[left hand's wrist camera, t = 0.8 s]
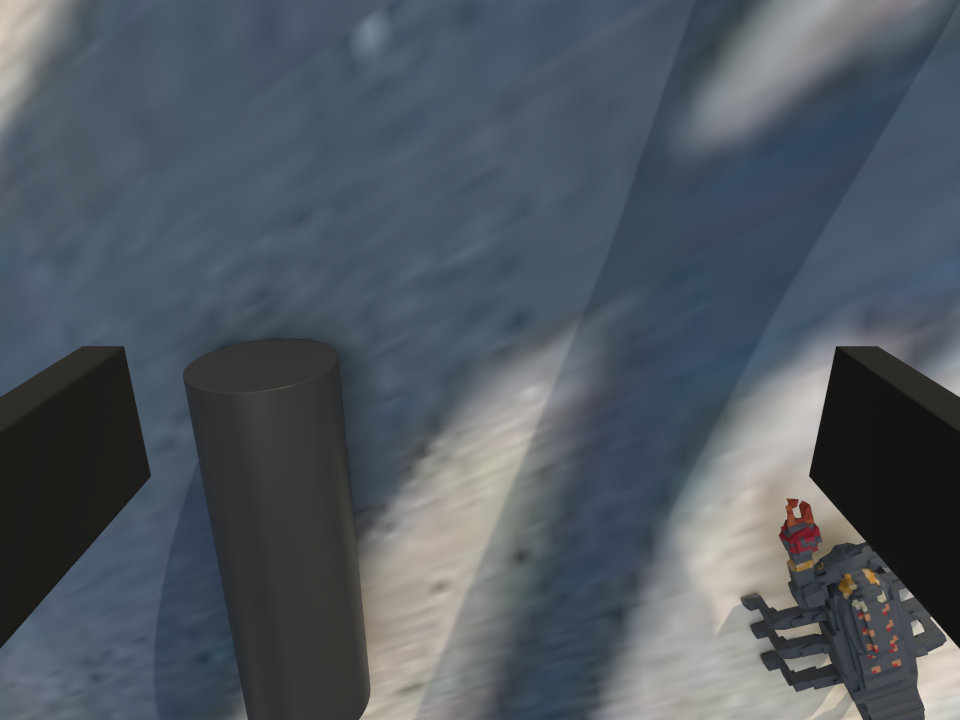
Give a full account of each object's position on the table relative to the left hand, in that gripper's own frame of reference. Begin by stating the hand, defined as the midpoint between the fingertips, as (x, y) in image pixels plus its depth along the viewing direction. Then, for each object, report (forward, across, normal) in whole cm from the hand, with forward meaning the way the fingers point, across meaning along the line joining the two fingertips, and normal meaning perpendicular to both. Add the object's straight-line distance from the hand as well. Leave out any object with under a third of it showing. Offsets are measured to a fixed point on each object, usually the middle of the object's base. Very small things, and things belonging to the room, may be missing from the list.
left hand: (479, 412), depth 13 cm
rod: (+29, -12, -22) cm, 38 cm away
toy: (+29, +27, -29) cm, 49 cm away
